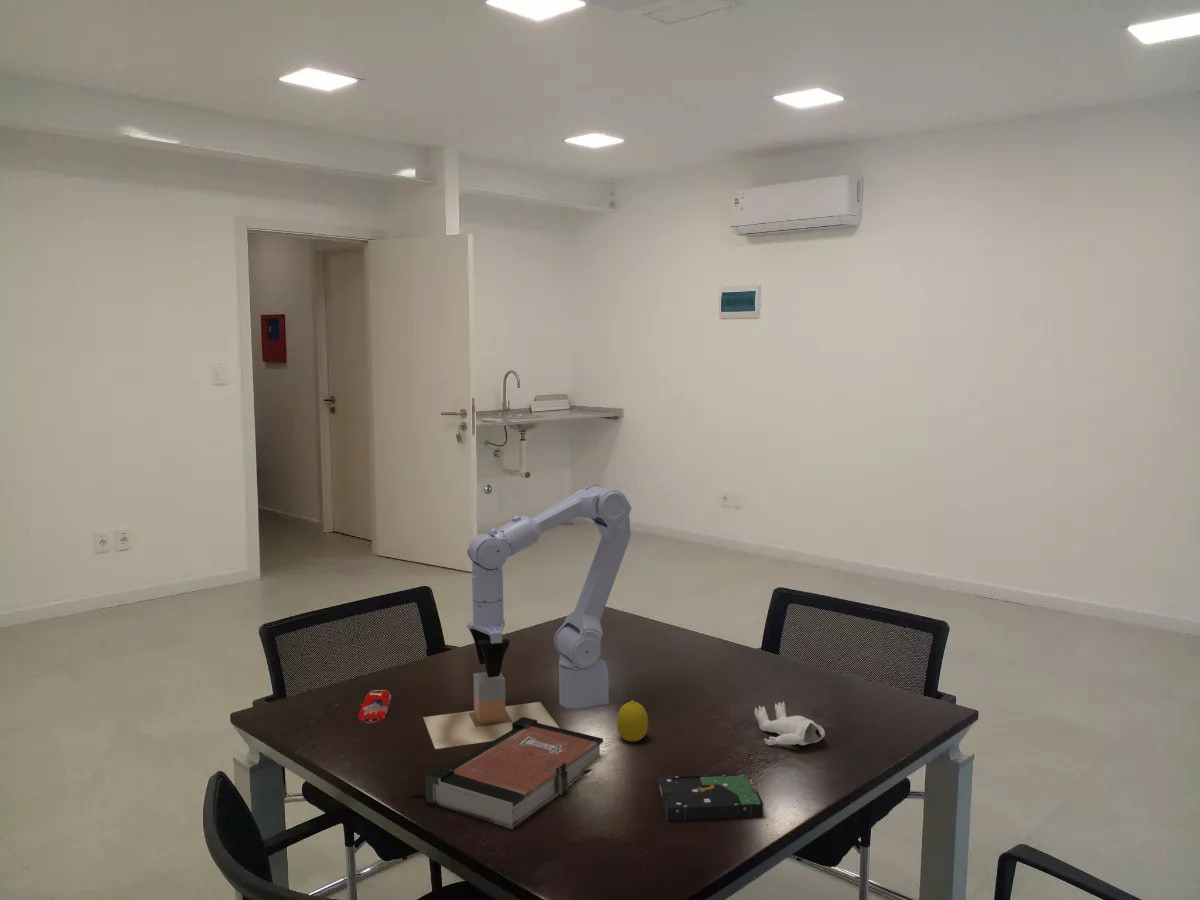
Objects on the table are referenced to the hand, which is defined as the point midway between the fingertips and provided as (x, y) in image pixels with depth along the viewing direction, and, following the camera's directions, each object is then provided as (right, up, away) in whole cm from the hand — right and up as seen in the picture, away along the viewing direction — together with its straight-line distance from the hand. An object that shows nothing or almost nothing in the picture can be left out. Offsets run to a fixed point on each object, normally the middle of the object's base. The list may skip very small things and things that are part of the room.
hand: (489, 669), depth 173 cm
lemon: (+27, -11, -9) cm, 30 cm away
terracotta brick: (0, -9, +1) cm, 9 cm away
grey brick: (0, -5, +1) cm, 5 cm away
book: (+8, -13, -23) cm, 28 cm away
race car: (-23, -11, +6) cm, 26 cm away
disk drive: (+38, -14, -31) cm, 51 cm away
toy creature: (+55, -11, -7) cm, 57 cm away
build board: (+1, -11, -2) cm, 11 cm away
